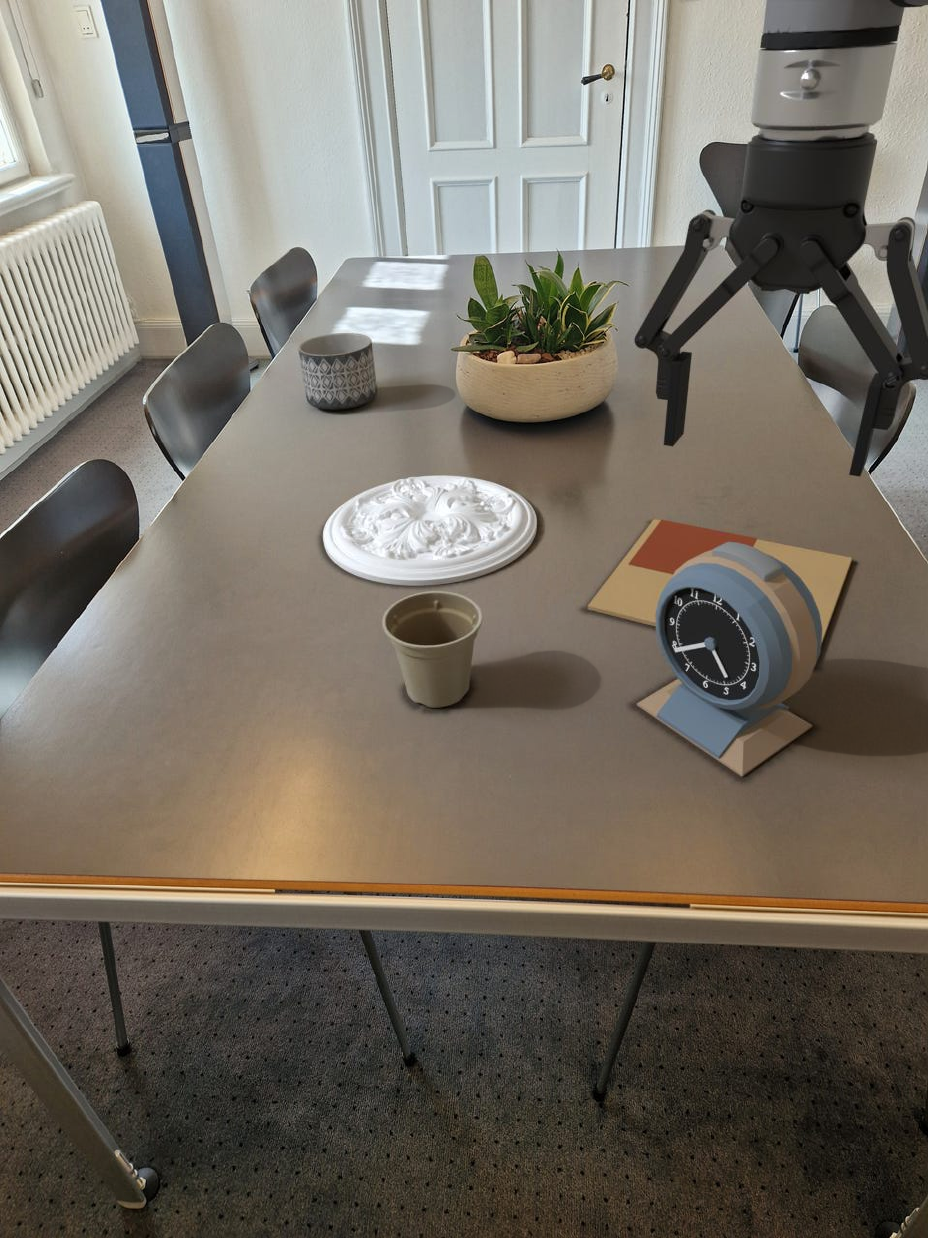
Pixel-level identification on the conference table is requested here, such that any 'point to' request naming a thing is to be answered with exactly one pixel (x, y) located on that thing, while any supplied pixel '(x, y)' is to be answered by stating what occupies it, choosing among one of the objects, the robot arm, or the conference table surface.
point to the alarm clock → (735, 653)
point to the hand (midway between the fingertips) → (761, 453)
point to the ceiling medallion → (430, 530)
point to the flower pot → (434, 644)
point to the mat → (676, 543)
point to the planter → (338, 370)
